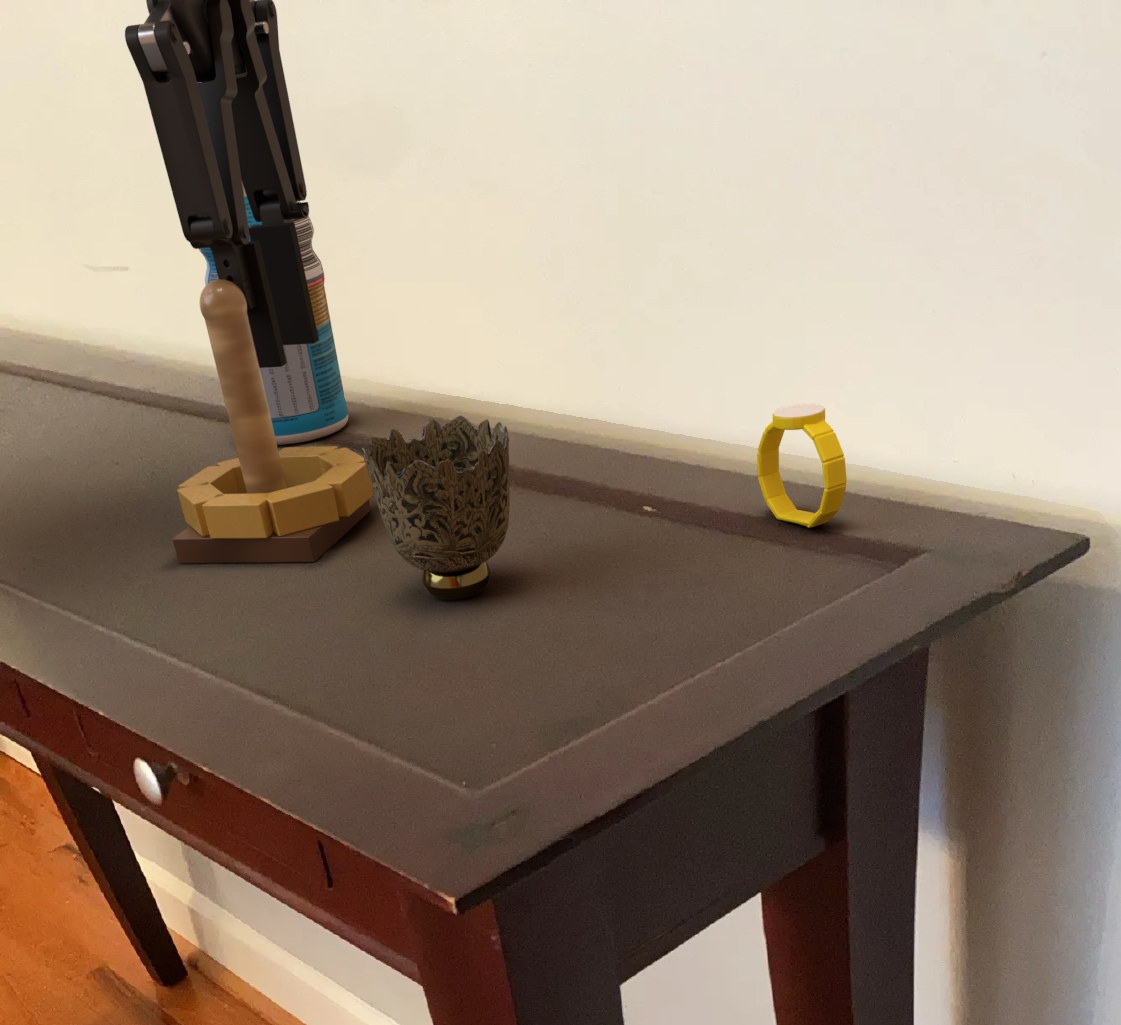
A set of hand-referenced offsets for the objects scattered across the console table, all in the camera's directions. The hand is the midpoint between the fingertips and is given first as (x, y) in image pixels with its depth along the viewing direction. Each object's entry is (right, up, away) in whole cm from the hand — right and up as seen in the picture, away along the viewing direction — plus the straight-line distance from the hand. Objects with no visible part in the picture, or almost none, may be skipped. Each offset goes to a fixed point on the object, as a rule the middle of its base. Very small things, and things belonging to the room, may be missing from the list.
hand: (280, 353), depth 83 cm
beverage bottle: (-3, +4, +21) cm, 22 cm away
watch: (+30, -13, -7) cm, 34 cm away
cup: (+12, -17, -9) cm, 23 cm away
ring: (0, -9, +1) cm, 9 cm away
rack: (0, -11, +1) cm, 11 cm away
